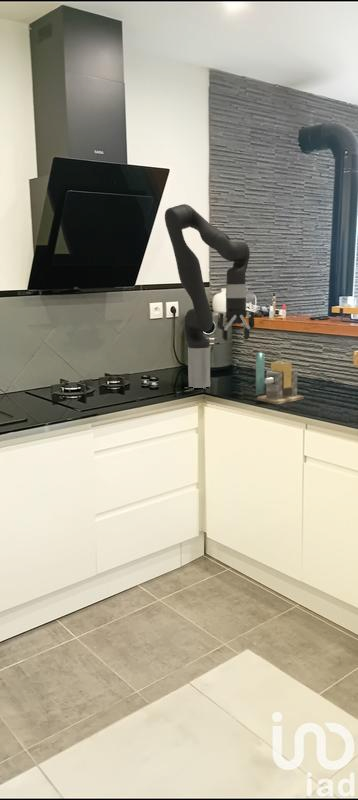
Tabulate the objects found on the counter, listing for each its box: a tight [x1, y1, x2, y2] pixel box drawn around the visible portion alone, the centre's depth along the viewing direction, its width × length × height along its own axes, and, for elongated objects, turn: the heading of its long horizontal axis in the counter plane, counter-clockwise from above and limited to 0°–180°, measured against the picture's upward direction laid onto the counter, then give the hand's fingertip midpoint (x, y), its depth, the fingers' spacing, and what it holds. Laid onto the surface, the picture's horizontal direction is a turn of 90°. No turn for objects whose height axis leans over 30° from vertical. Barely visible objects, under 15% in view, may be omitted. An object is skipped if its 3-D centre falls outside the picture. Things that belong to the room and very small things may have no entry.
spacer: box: [270, 360, 293, 388], centre depth 236 cm, size 4×7×9 cm, turn 35°
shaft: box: [255, 351, 275, 395], centre depth 234 cm, size 18×3×15 cm, turn 125°
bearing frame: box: [256, 368, 304, 405], centre depth 237 cm, size 14×11×11 cm
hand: (235, 339), depth 236 cm, fingers open, 8 cm apart
